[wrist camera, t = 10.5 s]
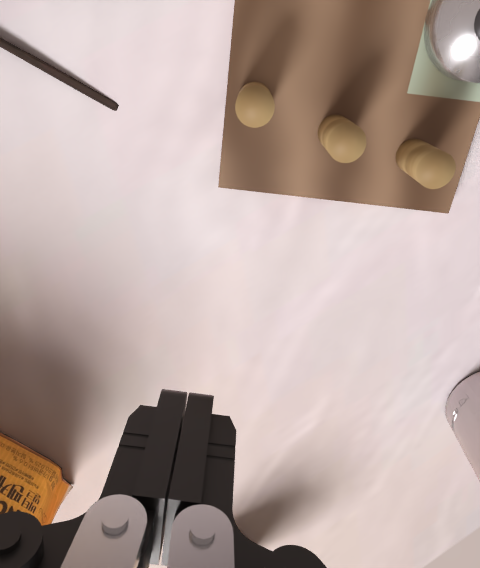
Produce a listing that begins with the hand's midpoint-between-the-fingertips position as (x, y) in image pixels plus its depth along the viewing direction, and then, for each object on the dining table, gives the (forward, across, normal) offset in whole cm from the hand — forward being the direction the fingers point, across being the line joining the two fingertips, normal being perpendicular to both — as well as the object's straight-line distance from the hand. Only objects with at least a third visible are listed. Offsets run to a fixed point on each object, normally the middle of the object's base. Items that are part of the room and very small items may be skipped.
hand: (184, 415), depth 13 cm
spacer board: (+26, -8, -13) cm, 30 cm away
